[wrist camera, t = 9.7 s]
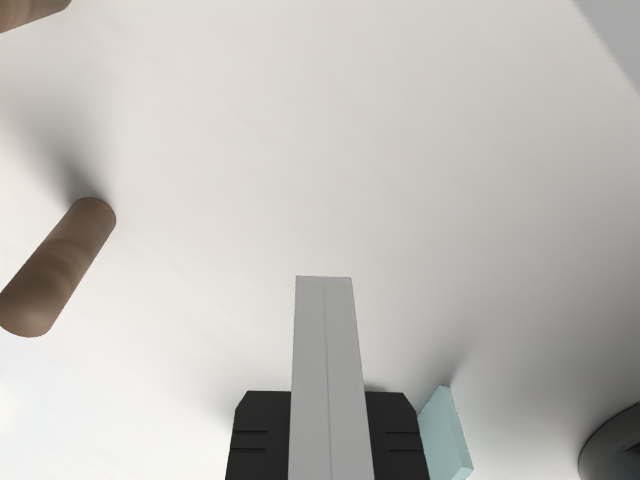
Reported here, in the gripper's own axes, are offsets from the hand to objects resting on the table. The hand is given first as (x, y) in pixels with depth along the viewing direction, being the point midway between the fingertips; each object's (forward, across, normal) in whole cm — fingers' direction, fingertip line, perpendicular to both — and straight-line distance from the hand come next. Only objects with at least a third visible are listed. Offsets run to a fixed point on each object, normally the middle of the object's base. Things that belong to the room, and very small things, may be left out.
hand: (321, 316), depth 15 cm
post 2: (+16, +13, +6) cm, 21 cm away
